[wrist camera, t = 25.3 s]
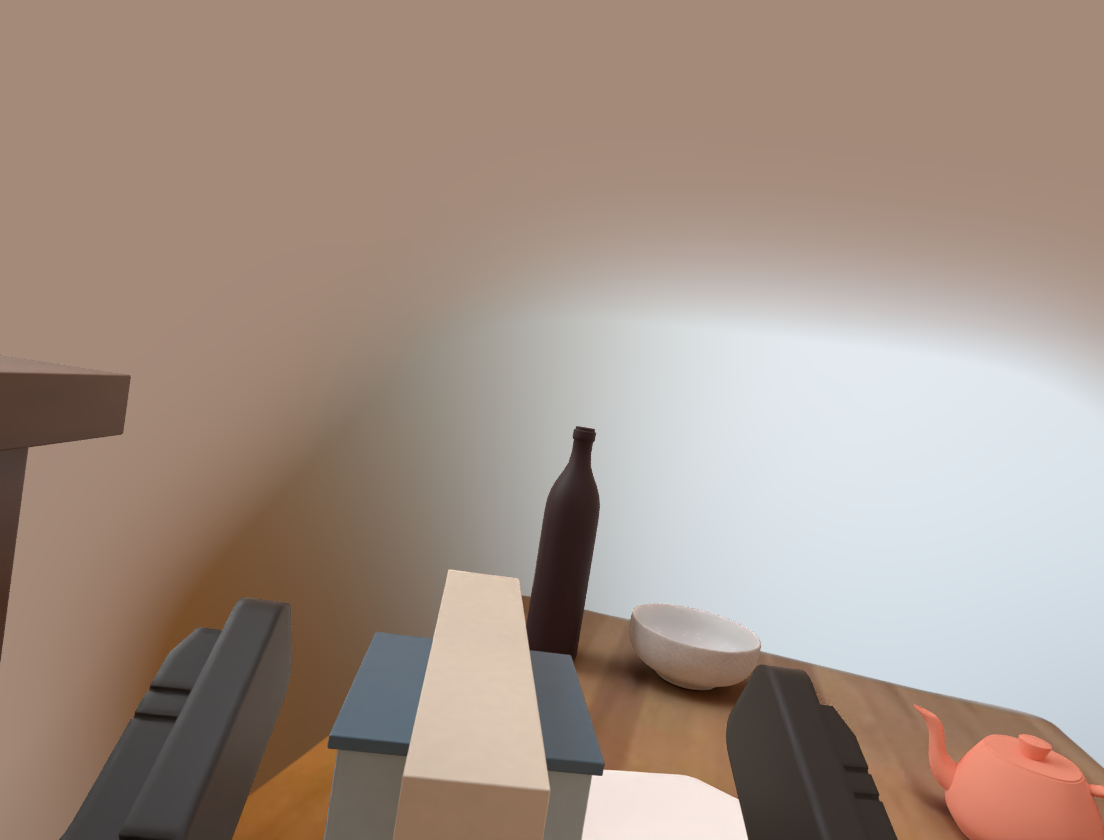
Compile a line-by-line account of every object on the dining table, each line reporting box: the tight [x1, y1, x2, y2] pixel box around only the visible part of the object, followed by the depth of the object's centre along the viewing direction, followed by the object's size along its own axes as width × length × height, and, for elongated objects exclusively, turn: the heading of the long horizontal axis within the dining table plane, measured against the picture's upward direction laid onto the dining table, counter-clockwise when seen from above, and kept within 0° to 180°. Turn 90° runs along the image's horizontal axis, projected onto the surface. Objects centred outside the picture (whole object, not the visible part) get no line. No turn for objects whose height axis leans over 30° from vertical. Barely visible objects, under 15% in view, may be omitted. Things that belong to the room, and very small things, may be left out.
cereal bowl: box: [629, 603, 761, 690], centre depth 87 cm, size 17×17×7 cm
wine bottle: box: [526, 426, 600, 661], centre depth 87 cm, size 7×7×30 cm
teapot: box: [913, 705, 1104, 840], centre depth 62 cm, size 12×18×10 cm
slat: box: [393, 570, 551, 840], centre depth 28 cm, size 4×20×2 cm, turn 5°
